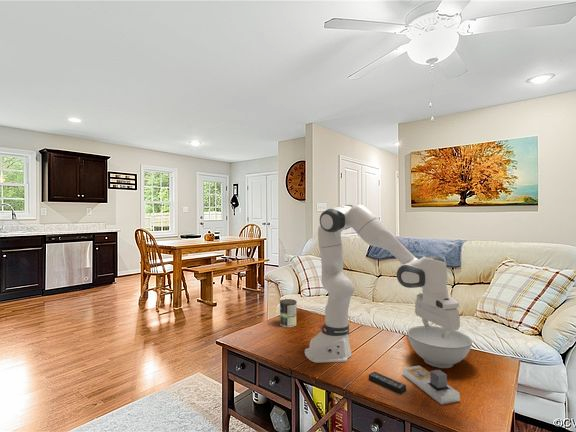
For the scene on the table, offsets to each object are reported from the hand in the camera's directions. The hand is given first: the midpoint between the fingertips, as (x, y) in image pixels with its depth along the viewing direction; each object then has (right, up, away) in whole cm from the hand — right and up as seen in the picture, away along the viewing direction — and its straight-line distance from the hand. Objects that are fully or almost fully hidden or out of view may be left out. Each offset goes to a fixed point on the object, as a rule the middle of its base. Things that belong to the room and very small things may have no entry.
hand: (435, 334), depth 125 cm
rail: (-1, -22, +3) cm, 22 cm away
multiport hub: (-17, -22, +4) cm, 29 cm away
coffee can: (-56, -21, +74) cm, 96 cm away
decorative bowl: (+12, -22, +24) cm, 35 cm away
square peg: (0, -22, -2) cm, 22 cm away
